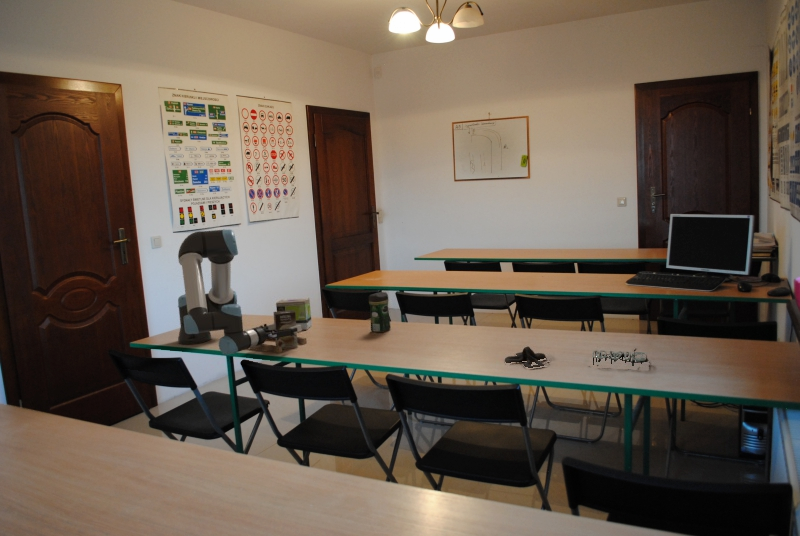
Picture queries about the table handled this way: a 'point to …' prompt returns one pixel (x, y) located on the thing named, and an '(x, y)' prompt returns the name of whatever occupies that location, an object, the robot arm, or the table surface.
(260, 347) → the brown wooden flat frame
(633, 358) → the neon sign
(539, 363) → the cloth
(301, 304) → the tea box
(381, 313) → the coffee jar
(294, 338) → the coffee box
